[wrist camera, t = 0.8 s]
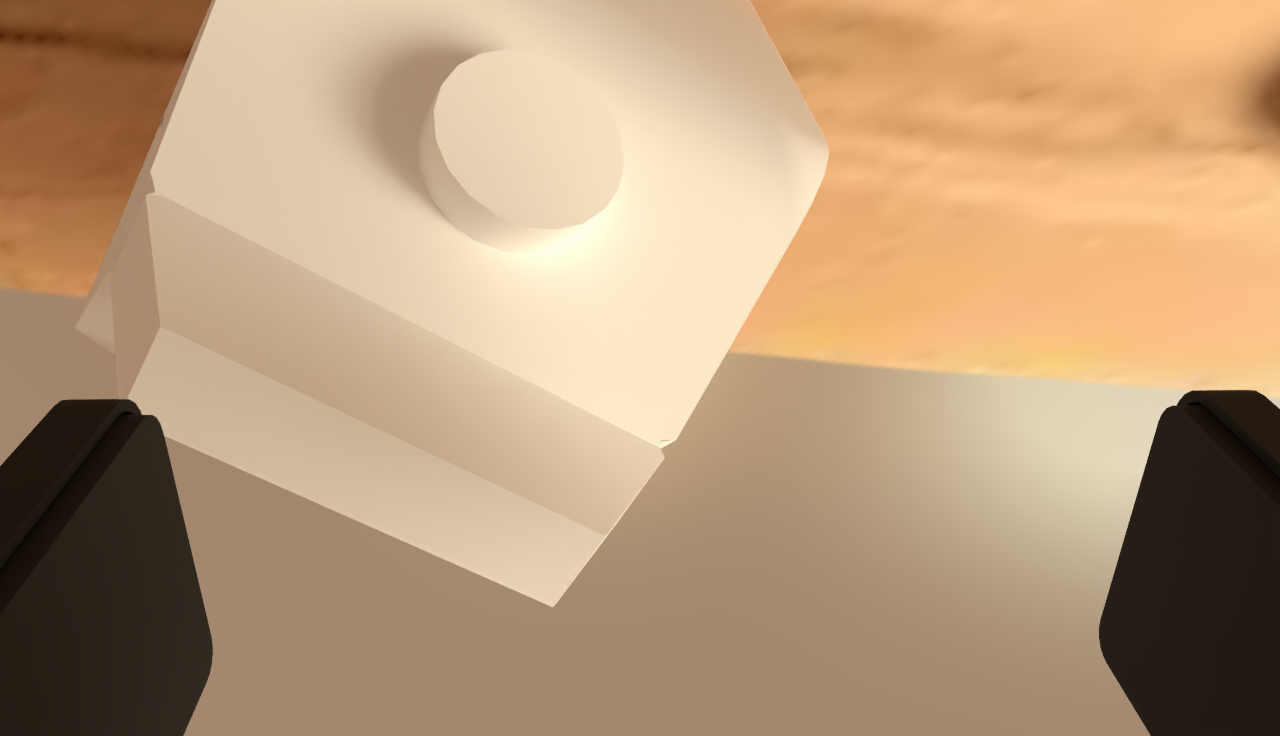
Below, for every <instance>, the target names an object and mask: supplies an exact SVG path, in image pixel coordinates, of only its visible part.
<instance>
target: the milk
mask: <svg viewBox="0 0 1280 736" xmlns="http://www.w3.org/2000/svg"><path fill="white" fill-rule="evenodd" d="M828 157H829V152H828V146H827V140H826V139H825V137H824V135H823V133H822V131H821V129H820V128H819V126H818V124H817V122H816V120H815V118H814V117H813V115H812V113H811V111H810V109H809V107H808V106H807V104H806V102H805V100H804V98H803V96H802V95H801V93H800V91H799V89H798V87H797V85H796V84H795V82H794V80H793V78H792V76H791V74H790V73H789V71H788V69H787V67H786V65H785V63H784V62H783V60H782V58H781V56H780V54H779V52H778V51H777V49H776V47H775V45H774V43H773V41H772V40H771V38H770V36H769V34H768V32H767V31H766V29H765V27H764V25H763V23H762V21H761V20H760V18H759V16H758V14H757V12H756V10H755V9H754V7H753V5H752V3H751V1H750V0H212V1H211V4H210V6H209V8H208V11H207V13H206V15H205V18H204V20H203V23H202V25H201V27H200V30H199V32H198V35H197V37H196V39H195V42H194V44H193V47H192V49H191V51H190V54H189V56H188V58H187V61H186V63H185V66H184V68H183V70H182V73H181V75H180V78H179V80H178V82H177V85H176V87H175V90H174V92H173V94H172V97H171V99H170V102H169V104H168V106H167V109H166V110H165V112H164V115H163V118H162V121H161V123H160V125H159V128H158V130H157V133H156V135H155V137H154V140H153V142H152V145H151V147H150V149H149V152H148V154H147V156H146V159H145V161H144V164H143V166H142V168H141V171H140V173H139V176H138V178H137V180H136V183H135V185H134V188H133V190H132V192H131V195H130V197H129V199H128V202H127V204H126V207H125V209H124V211H123V214H122V216H121V219H120V221H119V223H118V226H117V228H116V231H115V233H114V235H113V238H112V240H111V242H110V245H109V247H108V250H107V252H106V254H105V257H104V259H103V262H102V264H101V266H100V269H99V271H98V274H97V276H96V278H95V281H94V283H93V285H92V288H91V290H90V293H89V295H88V297H87V300H86V302H85V305H84V307H83V309H82V312H81V314H80V317H79V319H78V322H77V324H76V326H75V329H77V330H78V331H80V332H81V333H83V334H84V335H86V336H87V337H89V338H90V339H92V340H93V341H95V342H96V343H98V344H99V345H101V346H102V347H104V348H105V349H107V350H108V351H110V352H111V353H113V354H114V355H115V356H116V371H117V384H118V385H117V386H118V399H130V400H131V401H133V402H135V403H136V405H137V406H138V408H139V409H140V411H141V413H142V415H153V416H155V417H157V419H158V420H159V422H160V424H161V427H162V430H163V433H164V436H166V437H168V438H171V439H173V440H175V441H178V442H180V443H182V444H185V445H187V446H189V447H191V448H193V449H196V450H198V451H200V452H202V453H205V454H207V455H209V456H212V457H214V458H216V459H218V460H221V461H223V462H225V463H228V464H230V465H232V466H234V467H237V468H239V469H241V470H243V471H246V472H248V473H250V474H252V475H255V476H257V477H259V478H261V479H264V480H266V481H268V482H270V483H273V484H275V485H277V486H279V487H282V488H284V489H286V490H289V491H291V492H293V493H295V494H298V495H300V496H302V497H304V498H307V499H309V500H311V501H313V502H316V503H318V504H320V505H323V506H325V507H327V508H329V509H332V510H334V511H336V512H338V513H341V514H343V515H345V516H347V517H350V518H352V519H354V520H357V521H359V522H361V523H363V524H366V525H368V526H370V527H372V528H375V529H377V530H379V531H382V532H384V533H386V534H388V535H391V536H393V537H395V538H397V539H400V540H402V541H404V542H406V543H409V544H411V545H413V546H415V547H418V548H420V549H422V550H424V551H427V552H429V553H431V554H433V555H436V556H438V557H440V558H443V559H445V560H447V561H449V562H452V563H454V564H456V565H458V566H461V567H463V568H465V569H467V570H470V571H472V572H474V573H476V574H479V575H481V576H483V577H486V578H488V579H490V580H492V581H495V582H497V583H499V584H501V585H504V586H506V587H508V588H510V589H513V590H515V591H517V592H519V593H522V594H524V595H526V596H529V597H531V598H533V599H535V600H538V601H540V602H542V603H545V604H547V605H549V606H551V607H554V606H555V604H556V603H557V602H558V600H559V599H560V598H561V596H562V595H563V594H564V592H565V591H566V590H567V588H568V587H569V585H570V584H571V583H572V582H573V580H574V579H575V578H576V576H577V575H578V574H579V572H580V571H581V570H582V568H583V567H584V566H585V564H586V563H587V562H588V560H589V559H590V558H591V556H592V555H593V554H594V552H595V551H596V550H597V548H598V547H599V546H600V544H601V543H602V541H603V540H604V539H605V538H606V537H607V535H608V534H609V533H610V531H611V530H612V528H613V527H614V526H615V525H616V523H617V522H618V521H619V519H620V518H621V517H622V515H623V514H624V512H625V511H626V510H627V508H628V507H629V505H630V504H631V503H632V502H633V500H634V499H635V497H636V496H637V495H638V493H639V492H640V491H641V489H642V488H643V487H644V485H645V484H646V483H647V481H648V480H649V479H650V477H651V476H652V474H653V473H654V472H655V470H656V469H657V468H658V466H659V465H660V464H661V462H662V461H663V460H664V458H665V457H664V454H663V452H662V450H661V448H663V447H664V446H666V445H668V444H670V443H671V442H673V441H675V440H676V439H677V437H678V436H679V434H680V432H681V431H682V429H683V427H684V425H685V424H686V422H687V420H688V419H689V417H690V415H691V413H692V412H693V410H694V408H695V406H696V405H697V403H698V401H699V399H700V397H701V396H702V394H703V393H704V391H705V389H706V387H707V386H708V384H709V382H710V381H711V379H712V377H713V375H714V374H715V372H716V370H717V368H718V367H719V365H720V363H721V362H722V359H723V358H724V356H725V355H726V353H727V351H728V349H729V348H730V346H731V344H732V343H733V341H734V339H735V337H736V336H737V334H738V332H739V330H740V329H741V327H742V325H743V324H744V322H745V320H746V318H747V317H748V315H749V313H750V311H751V310H752V308H753V306H754V305H755V303H756V301H757V299H758V298H759V296H760V294H761V293H762V291H763V289H764V287H765V286H766V284H767V282H768V280H769V279H770V277H771V275H772V274H773V272H774V270H775V268H776V267H777V265H778V263H779V261H780V260H781V258H782V256H783V255H784V253H785V251H786V249H787V248H788V246H789V244H790V242H791V241H792V239H793V237H794V235H795V234H796V232H797V230H798V228H799V226H800V224H801V223H802V221H803V219H804V217H805V215H806V213H807V212H808V210H809V208H810V206H811V204H812V202H813V200H814V198H815V195H816V193H817V191H818V188H819V186H820V184H821V182H822V179H823V177H824V174H825V170H826V165H827V161H828Z"/></svg>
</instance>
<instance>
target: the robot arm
mask: <svg viewBox="0 0 1280 736" xmlns="http://www.w3.org/2000/svg"><path fill="white" fill-rule="evenodd" d="M1099 639H1100V646H1101V650H1102V653H1103V656H1104V658H1105V660H1106V663H1107V664H1108V666H1109V667H1110V669H1111V671H1112V673H1113V674H1114V676H1115V677H1116V679H1117V681H1118V682H1119V684H1120V686H1121V687H1122V689H1123V690H1124V692H1125V694H1126V695H1127V697H1128V699H1129V700H1130V702H1131V703H1132V705H1133V707H1134V709H1135V710H1136V712H1137V714H1138V715H1139V717H1140V719H1141V720H1142V722H1143V723H1144V725H1145V727H1146V728H1147V730H1148V732H1149V733H1150V735H1151V736H1280V409H1279V408H1278V407H1277V406H1276V405H1274V404H1273V403H1272V402H1271V401H1270V400H1269V399H1267V398H1266V397H1265V396H1264V395H1262V394H1260V393H1259V392H1257V391H1252V390H1207V391H1191V392H1188V393H1186V394H1185V395H1184V396H1183V397H1182V398H1181V399H1180V401H1179V402H1178V404H1177V406H1171V407H1169V408H1167V409H1166V410H1165V411H1164V412H1163V414H1162V415H1161V417H1160V420H1159V422H1158V425H1157V429H1156V432H1155V436H1154V439H1153V443H1152V446H1151V450H1150V453H1149V456H1148V460H1147V463H1146V466H1145V470H1144V473H1143V477H1142V480H1141V484H1140V487H1139V490H1138V494H1137V497H1136V501H1135V504H1134V508H1133V511H1132V514H1131V518H1130V521H1129V524H1128V528H1127V531H1126V535H1125V538H1124V542H1123V545H1122V548H1121V552H1120V555H1119V559H1118V562H1117V566H1116V569H1115V573H1114V576H1113V580H1112V582H1111V586H1110V589H1109V593H1108V596H1107V600H1106V603H1105V607H1104V610H1103V614H1102V617H1101V620H1100V626H1099ZM212 650H213V648H212V638H211V633H210V629H209V625H208V620H207V616H206V612H205V608H204V604H203V599H202V595H201V591H200V587H199V582H198V578H197V574H196V569H195V565H194V561H193V557H192V552H191V548H190V544H189V540H188V535H187V531H186V527H185V523H184V519H183V514H182V510H181V506H180V502H179V497H178V493H177V489H176V485H175V480H174V476H173V471H172V467H171V463H170V459H169V455H168V450H167V446H166V442H165V438H164V433H163V430H162V427H161V424H160V422H159V420H158V419H157V417H155V416H153V415H142V413H141V411H140V409H139V408H138V406H137V405H136V403H135V402H133V401H131V400H130V399H99V400H98V399H96V400H94V399H93V400H92V399H91V400H62V401H60V402H59V403H58V404H56V405H55V406H54V407H53V408H52V409H51V410H50V411H49V412H48V414H47V415H46V416H45V417H44V418H43V419H42V420H41V421H40V422H39V424H38V425H37V426H36V427H35V428H34V429H33V430H32V431H31V433H30V434H29V435H28V436H27V437H26V438H25V439H24V440H23V441H22V443H21V444H20V445H19V446H18V447H17V448H16V449H15V450H14V452H13V453H12V454H11V455H10V456H9V457H8V458H7V459H6V460H5V462H4V463H3V464H2V465H1V466H0V736H183V735H184V733H185V730H186V728H187V726H188V723H189V721H190V719H191V716H192V714H193V712H194V710H195V707H196V705H197V703H198V700H199V698H200V696H201V694H202V692H203V689H204V687H205V684H206V682H207V680H208V677H209V674H210V669H211V665H212V654H213V652H212Z"/></svg>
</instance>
